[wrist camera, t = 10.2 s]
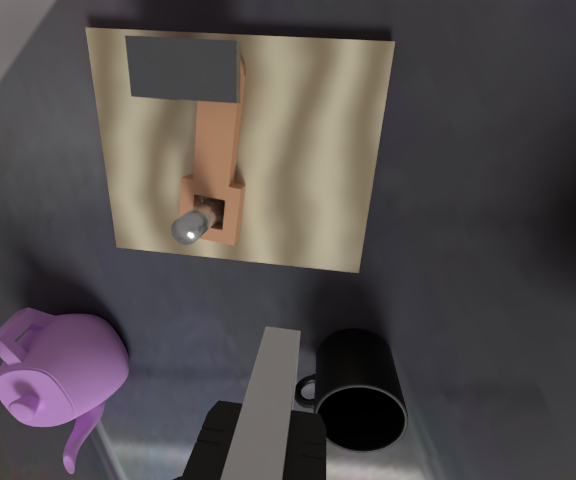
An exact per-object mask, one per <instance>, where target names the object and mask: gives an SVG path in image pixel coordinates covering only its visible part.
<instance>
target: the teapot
mask: <svg viewBox="0 0 576 480" xmlns="http://www.w3.org/2000/svg"><path fill="white" fill-rule="evenodd" d="M26 329H29V331H28V332H26V333H25V334H24V335H23V336H22V337H21V338H20V339H19V340H18V341H17V343H16V342H14V340H15V339H16V338H17V337H18V336H20V335H21V334H22V333H23V332H24V331H25V330H26ZM0 357H1V358H2V359H3V360H4V361H3V363H2V364H1V366H0V400H1V402H2V403H3V404H4V406H5V407H6V408H7V409H8V411H9V412H10V413H11V414H12V415H13V416H14V417H15V418H16V419H17V420H18V421H20V422H22V423H24V424H26V425H30V426H36V427H50V426H56V425H60V424H63V423H66V422H68V421H70V420H73V419H75V418H76V423H75V426H74V429H73V431H72V433H71V435H70V437H69V439H68V441H67V444H66V446H65V449H64V454H63V462H64V466H65V468H66V470H67V471H68V472H69V473H70V474H73V472H74V469H75V461H76V456H77V453H78V450H79V448H80V446H81V444H82V443H83V441H84V440H85V438H86V437H87V436H88V435H89V433H90V432H91V431H92V429H93V428H94V427H95V425H96V424H97V423H98V421H99V420H100V418H101V416H102V414H103V411H104V407H105V401H106V399H107V398H109V397H110V396H111V395H112V394H113V393H114V392H115V391H116V390H117V389H118V388H119V387H120V386H121V385H122V384H123V383H124V381H125V380H126V378H127V376H128V373H129V357H128V354H127V351H126V349H125V347H124V344H123V343H122V341H121V339H120V337H119V336H118V334H117V333H116V331H115V330H114V329H113V327H112V326H111V325H110V324H109V323H108V322H107V321H106V320H104V319H103V318H101V317H98V316H95V315H91V314H64V315H58V316H54V315H51V314H48V313H45V312H41V311H38V310H35V309H32V308H29V307H28V308H25V309H22V310H19V311H16V312H15V313H14V314H13V315H12V316H11V317H10V318H9V319H8V320H7V322H6V323H5V324H4V325H3V326H2V327H1V328H0Z"/></svg>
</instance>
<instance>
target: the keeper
mask: <svg viewBox="0 0 576 480" xmlns="http://www.w3.org/2000/svg"><path fill="white" fill-rule="evenodd" d="M125 41H126V51H127V60H128V70H129V79H130V89H131V96H132V97H142V98H152V99H164V100H191V101H206V102H222V103H238V104H240V64H241V44H240V43H239V42H238V41H233V40H212V39H191V38H169V37H148V36H127V35H125Z"/></svg>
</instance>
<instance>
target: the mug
mask: <svg viewBox="0 0 576 480" xmlns="http://www.w3.org/2000/svg"><path fill="white" fill-rule="evenodd" d="M309 383H315V397H314V399H311V400H310V399H306V398H304V397H303V396H302V395H301V390H302V388H303V387H304V386H306V385H307V384H309ZM294 396H295V400H296V402H297V403H298V404H299V405H301V406H302V407H305V408H312V409H314V413H315V414H320V415H321V417H322V419H323V422H324V424H325V427H326V440H327V441H328V442H329V443H331V444H332V445H334V446H336V447H338V448H341V449H343V450H347V451H351V452H358V453H370V452H376V451H381V450H384V449H386V448H388V447H390V446H392V445H394V444H395V443H396V442H398V441H399V440H400V439H401V438H402V436H403V435H404V433H405V431H406V429H407V425H408V414H407V410H406V406H405V402H404V398H403V395H402V391H401V387H400V383H399V380H398V376H397V372H396V368H395V365H394V361H393V357H392V354H391V351H390V349H389V347H388V346H387V344H386V343H385V342H384V341H383V340H382V339H381V338H379V337H378V336H376V335H375V334H373V333H371V332H368V331H365V330H360V329H347V330H342V331H339V332H336V333H334V334H332V335H330V336H329V337H328V338H327V339H325V340H324V342H323V343H322V344H321V345H320V347H319V349H318V352H317V357H316V374H313V375H311V376H307V377H305V378H303V379H301V380H300V381H299V382H298V383H297V385H296V387H295V395H294Z"/></svg>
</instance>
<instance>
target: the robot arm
mask: <svg viewBox="0 0 576 480" xmlns="http://www.w3.org/2000/svg"><path fill="white" fill-rule="evenodd" d="M300 334H301V331H298V330H290V329H282V328H274V327H266V328H265V331H264V334H263V338H262V341H261V344H260V348H259V351H258V355H257V358H256V361H255V365H254V368H253V371H252V375H251V378H250V382H249V385H248V388H247V392H246V395H245V398H244V402H243V404H240V403H233V402H226V401H218V402H217V403H216V404H215V405H214V406H213V407H212V409H211V410H210V411H209V412H208V414H207V416H206V418H205V421H204V423H203V426H202V430H201V431H200V433H199V436H198V438H197V442H196V443H195V446H194V448H193V451H192V453H191V455H190V458H189V460H188V463H187V465H186V468H185V470H184V473H183V475H182V476H180V477H178V478H176V479H173V480H326V427H325V424H324V422H323V419H322V417H321V415H320V414H315V413H308V412H301V411H294V410H293V403H294V395H295V386H296V377H297V366H298V355H299V344H300Z"/></svg>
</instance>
